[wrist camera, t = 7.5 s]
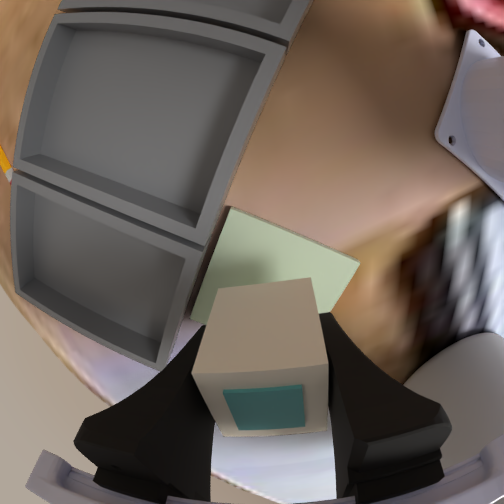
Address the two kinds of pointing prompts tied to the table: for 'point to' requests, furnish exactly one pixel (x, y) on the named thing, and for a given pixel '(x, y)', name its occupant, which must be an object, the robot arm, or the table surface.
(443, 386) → the cylinder vase
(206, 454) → the robot arm
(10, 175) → the pencil
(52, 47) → the tray
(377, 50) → the table surface
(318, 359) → the letter block
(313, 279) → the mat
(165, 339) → the tray
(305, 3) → the tray
